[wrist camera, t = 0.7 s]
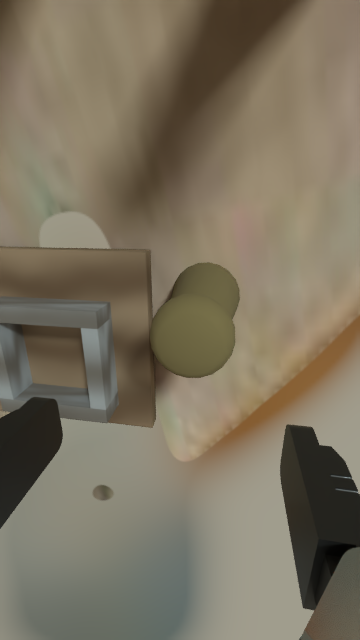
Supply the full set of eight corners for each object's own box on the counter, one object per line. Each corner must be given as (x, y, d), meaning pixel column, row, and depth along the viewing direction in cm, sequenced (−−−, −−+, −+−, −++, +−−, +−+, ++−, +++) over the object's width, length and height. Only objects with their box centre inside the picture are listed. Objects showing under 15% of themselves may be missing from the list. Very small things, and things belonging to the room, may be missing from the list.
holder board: (-89, 244, 30) (-141, 250, 26) (150, 249, 26) (134, 256, 22) (-43, 395, 36) (-79, 419, 32) (156, 418, 32) (144, 449, 28)
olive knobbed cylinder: (235, 331, 27) (236, 401, 17) (171, 323, 28) (135, 386, 18) (244, 265, 25) (251, 301, 15) (174, 259, 26) (136, 289, 16)
